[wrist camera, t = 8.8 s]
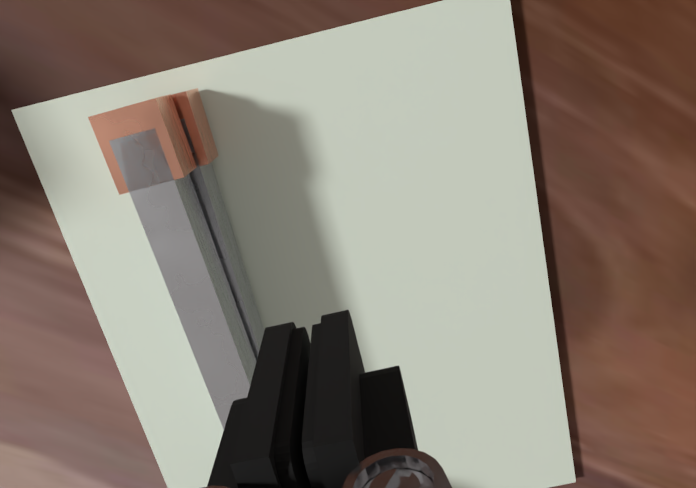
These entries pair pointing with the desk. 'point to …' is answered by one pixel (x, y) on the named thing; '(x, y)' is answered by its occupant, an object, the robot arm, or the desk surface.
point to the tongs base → (217, 210)
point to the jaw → (179, 239)
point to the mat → (345, 232)
